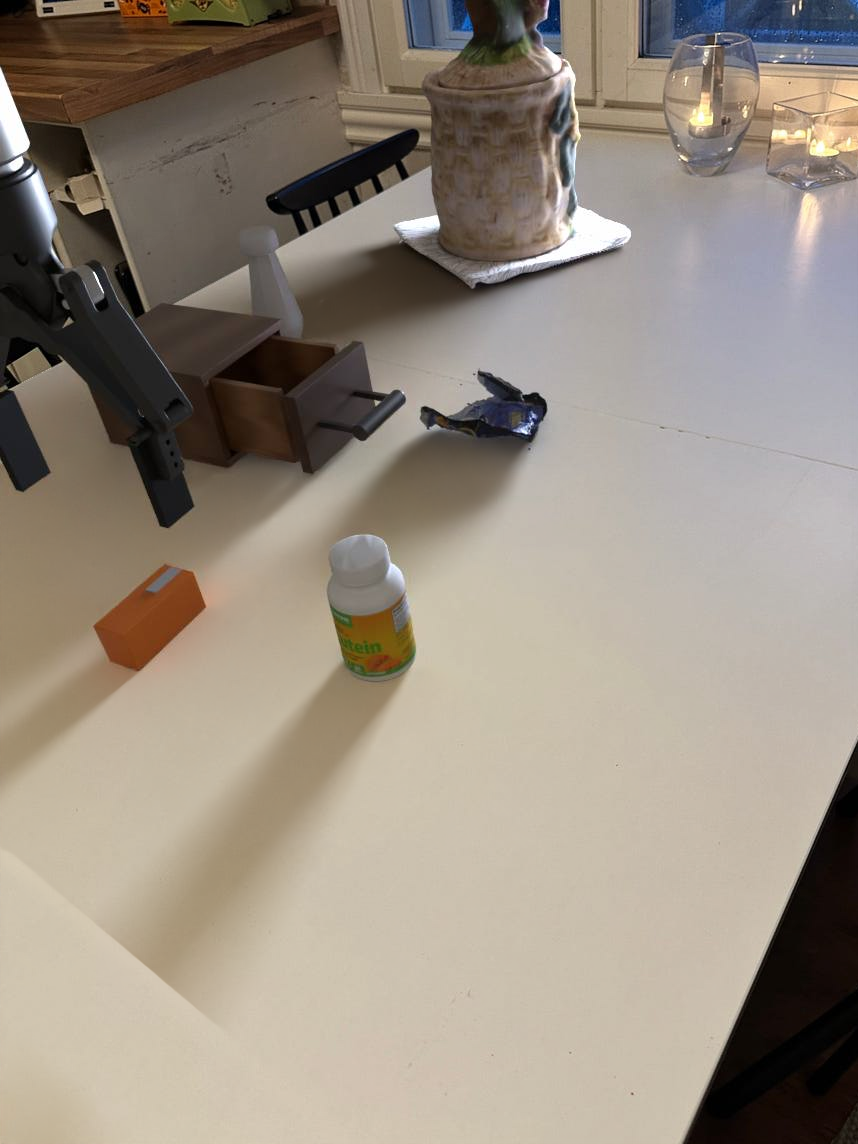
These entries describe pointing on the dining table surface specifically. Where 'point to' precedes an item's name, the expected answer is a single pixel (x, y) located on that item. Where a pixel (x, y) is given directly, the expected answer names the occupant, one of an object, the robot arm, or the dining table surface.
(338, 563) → the supplement bottle
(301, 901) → the dining table surface
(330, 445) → the drawer
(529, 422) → the snack package
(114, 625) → the taped cardboard carton
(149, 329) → the cabinet
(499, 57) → the cookie jar
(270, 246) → the salt shaker
